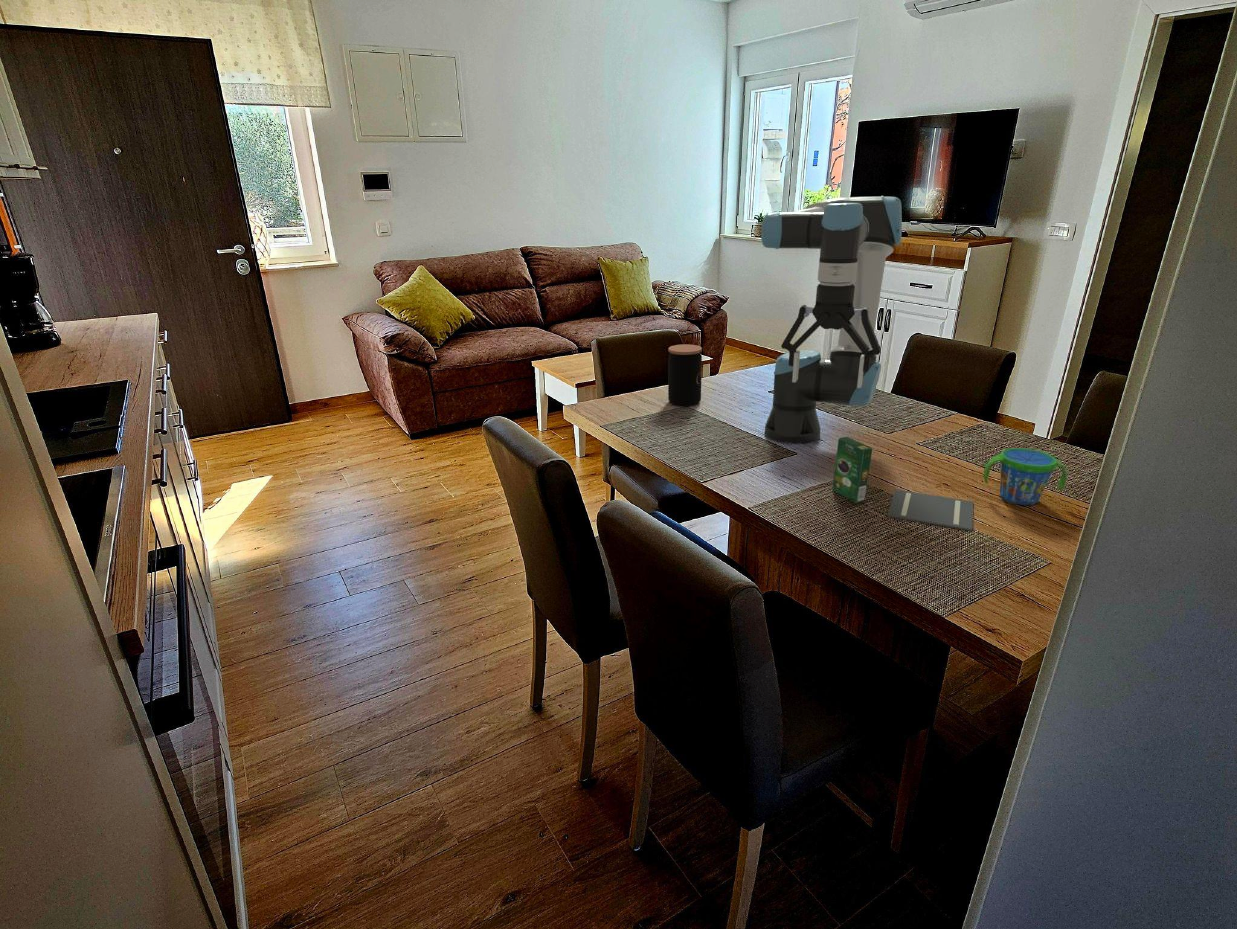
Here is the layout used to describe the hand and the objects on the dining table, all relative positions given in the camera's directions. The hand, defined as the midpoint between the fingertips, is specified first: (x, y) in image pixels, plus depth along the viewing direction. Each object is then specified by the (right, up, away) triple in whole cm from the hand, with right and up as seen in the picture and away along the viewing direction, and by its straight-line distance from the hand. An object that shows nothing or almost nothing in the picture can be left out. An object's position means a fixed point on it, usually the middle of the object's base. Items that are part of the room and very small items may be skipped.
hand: (826, 383), depth 146 cm
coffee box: (+7, -25, +5) cm, 26 cm away
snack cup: (+43, -25, +1) cm, 50 cm away
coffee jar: (-24, +2, +73) cm, 77 cm away
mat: (+22, -27, -2) cm, 35 cm away
